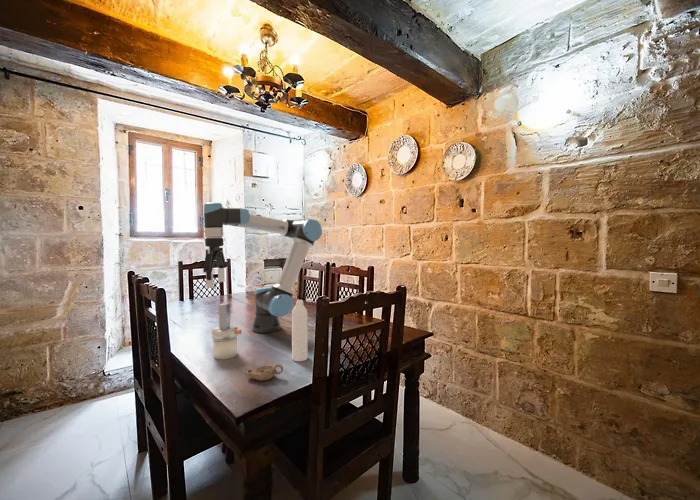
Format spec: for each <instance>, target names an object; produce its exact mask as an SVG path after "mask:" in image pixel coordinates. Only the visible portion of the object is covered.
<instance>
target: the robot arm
mask: <svg viewBox="0 0 700 500" xmlns="http://www.w3.org/2000/svg"><path fill="white" fill-rule="evenodd" d="M203 221H204V222H203V223H204V230H203V232H204V237H205V239H204V244H205V245H204V246H205V247H208V248H206V249H205V258H204V262H203V263H204V264H203V270H202V271H203V273H205V280H206V281H205V283H206V288H214V287H215V285H214V272H213V269H214V266H215V262H216V264H217V267H218V268H217V281H218V282H217V283H225V281H226V280H225V279H226V278H225V269H226V268H227V264H226V259H225V255H224V249H223V247H224V238H223V237H224V226H232V227H239V228H245V229H249V230H250V229H251V230H254V231H255V230H256V231H261V232H268V233H272V234H280V236H281V237H286V238H290V239H292V240H293V243H292V246H291V249H290V250H289V254H288V255H287V257H286V260H285V263H284V266H283V268H282V270H281V272H280V275H279V277H278V280H277V282H276V283H275V284H274V285H272V286H264V287H257V288H256V289H255V290H254V309H255V311H254V319H253V322H252V327H251V330H252V331H253V332H254V333H259V334H260V333H261V334H264V333H265V334H266V333H272V332H277V331H279V330H280V329H281V321H280V319H279V317H280V318H281V317H285V316H286V315H288V314H289V313H290V312H292V310H293V308H294V301H293V296H294V292H293V289H294V286H295V285H296V281H297V279H298V276H299V274H300V271H301V269H302V267H303V264H304V261H305V258H306V256H307V254H308V251H309V250H310V248H312V247H313V246H314V245H315V242H316V241H318V240H319V239H321V237H322V234H323V228H322V227H321V224H320V222H319V221H318V220H316V219H312V218H307V219H302V218H301V219H286V218H285V219H282V220H281V219H276V218H271V217H266V216H262V215H256V214H251V213H250V212H249V209H247V208H242V207H239V208H238V207H223V204H222V203H221V202H206V203H204V205H203Z"/></svg>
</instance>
